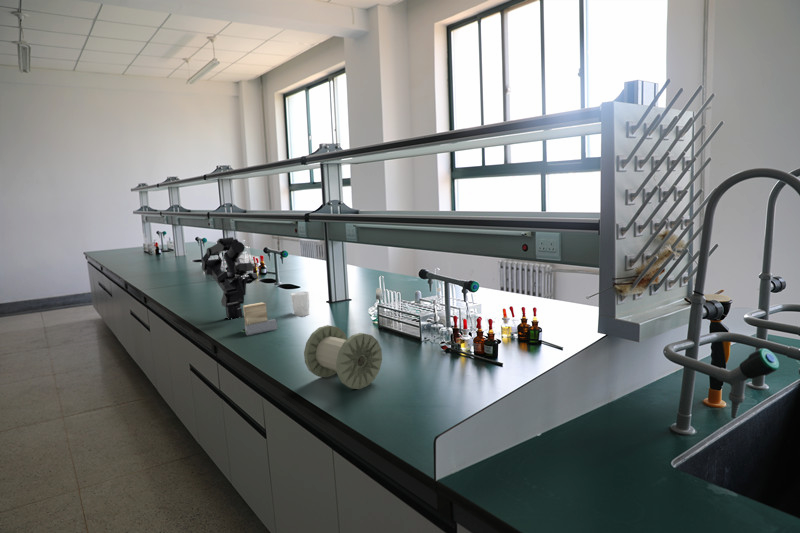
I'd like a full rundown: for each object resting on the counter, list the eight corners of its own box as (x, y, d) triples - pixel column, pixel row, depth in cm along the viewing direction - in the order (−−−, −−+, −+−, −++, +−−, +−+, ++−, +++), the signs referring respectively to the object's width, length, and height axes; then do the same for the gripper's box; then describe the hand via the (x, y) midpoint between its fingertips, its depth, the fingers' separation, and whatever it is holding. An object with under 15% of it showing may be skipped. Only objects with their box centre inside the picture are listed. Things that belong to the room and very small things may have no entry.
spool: (306, 382, 150) (301, 332, 148) (347, 367, 161) (343, 320, 158) (342, 396, 139) (337, 341, 136) (383, 379, 149) (379, 328, 147)
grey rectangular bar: (245, 334, 203) (244, 324, 203) (275, 328, 210) (274, 318, 209) (247, 335, 201) (246, 325, 200) (277, 329, 208) (276, 319, 207)
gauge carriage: (241, 330, 209) (238, 306, 207) (265, 326, 214) (262, 302, 212) (244, 332, 205) (241, 308, 204) (268, 327, 211) (265, 303, 209)
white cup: (301, 317, 229) (299, 295, 228) (289, 316, 234) (287, 294, 233) (314, 313, 235) (312, 292, 234) (302, 312, 240) (300, 290, 239)
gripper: (228, 253, 217) (240, 286, 213) (260, 256, 234) (272, 287, 230) (211, 265, 222) (222, 298, 218) (244, 267, 238) (255, 298, 234)
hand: (244, 295), depth 225 cm, fingers closed
